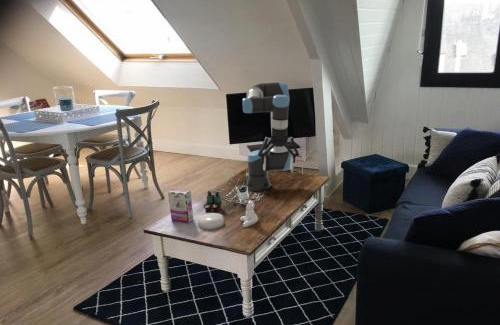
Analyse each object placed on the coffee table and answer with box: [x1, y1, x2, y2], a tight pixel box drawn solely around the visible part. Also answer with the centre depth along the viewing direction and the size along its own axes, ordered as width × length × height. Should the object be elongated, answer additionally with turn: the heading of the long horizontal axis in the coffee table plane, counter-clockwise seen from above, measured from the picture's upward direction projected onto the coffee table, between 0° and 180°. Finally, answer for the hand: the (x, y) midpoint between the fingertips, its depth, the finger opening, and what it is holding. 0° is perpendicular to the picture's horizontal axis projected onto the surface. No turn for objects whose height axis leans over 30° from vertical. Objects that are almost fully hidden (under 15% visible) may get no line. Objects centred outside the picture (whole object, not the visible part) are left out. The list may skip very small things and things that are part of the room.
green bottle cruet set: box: [203, 190, 223, 213], centre depth 221 cm, size 9×11×10 cm
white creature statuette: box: [239, 200, 259, 228], centre depth 205 cm, size 10×9×12 cm
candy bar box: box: [167, 189, 194, 224], centre depth 211 cm, size 11×5×16 cm, turn 66°
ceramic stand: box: [197, 212, 225, 230], centre depth 207 cm, size 14×14×3 cm
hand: (277, 169), depth 200 cm, fingers open, 13 cm apart
